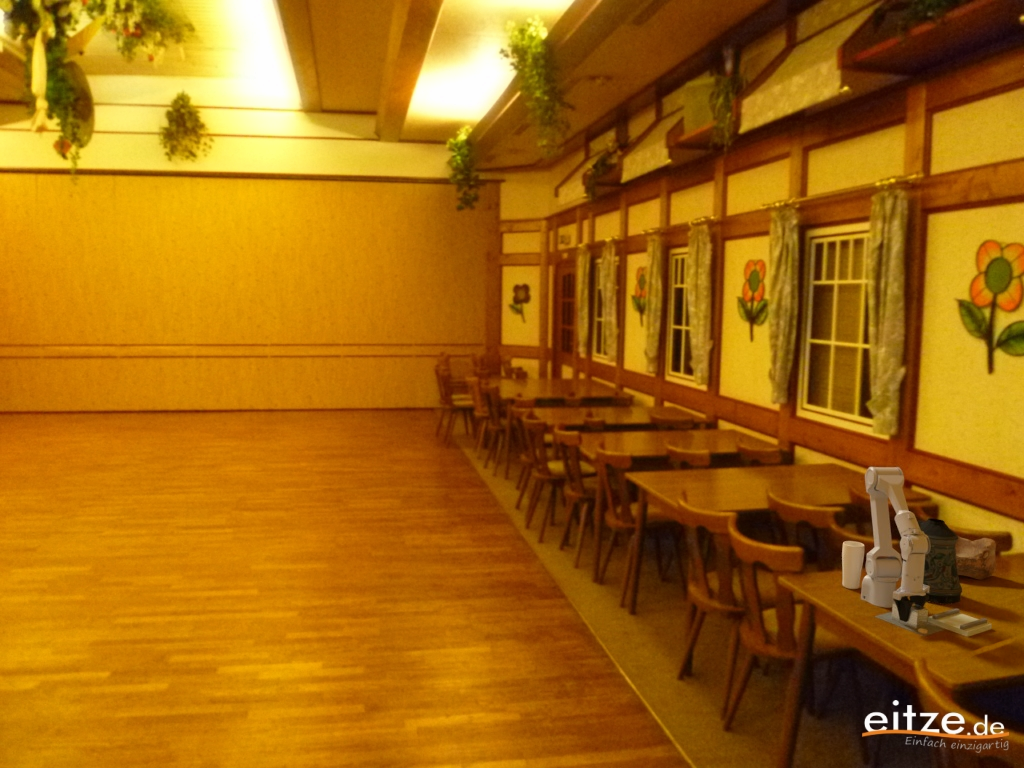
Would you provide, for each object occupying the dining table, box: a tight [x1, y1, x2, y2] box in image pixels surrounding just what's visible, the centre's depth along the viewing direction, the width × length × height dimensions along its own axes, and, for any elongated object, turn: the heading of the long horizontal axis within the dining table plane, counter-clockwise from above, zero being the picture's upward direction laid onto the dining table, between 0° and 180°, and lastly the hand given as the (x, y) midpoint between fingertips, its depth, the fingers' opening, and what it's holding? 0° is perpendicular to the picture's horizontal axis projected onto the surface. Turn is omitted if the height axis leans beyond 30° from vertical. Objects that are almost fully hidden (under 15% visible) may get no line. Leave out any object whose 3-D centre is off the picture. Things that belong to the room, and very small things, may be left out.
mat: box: [874, 611, 945, 637], centre depth 239 cm, size 16×10×2 cm, turn 30°
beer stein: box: [917, 517, 963, 605], centre depth 265 cm, size 16×19×25 cm
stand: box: [927, 608, 993, 638], centre depth 238 cm, size 12×12×4 cm
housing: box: [891, 602, 929, 629], centre depth 239 cm, size 8×5×6 cm, turn 30°
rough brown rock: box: [950, 528, 997, 581], centre depth 286 cm, size 23×17×15 cm
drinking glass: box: [841, 540, 865, 590], centre depth 271 cm, size 7×7×15 cm
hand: (909, 619), depth 239 cm, fingers closed on housing, 5 cm apart
